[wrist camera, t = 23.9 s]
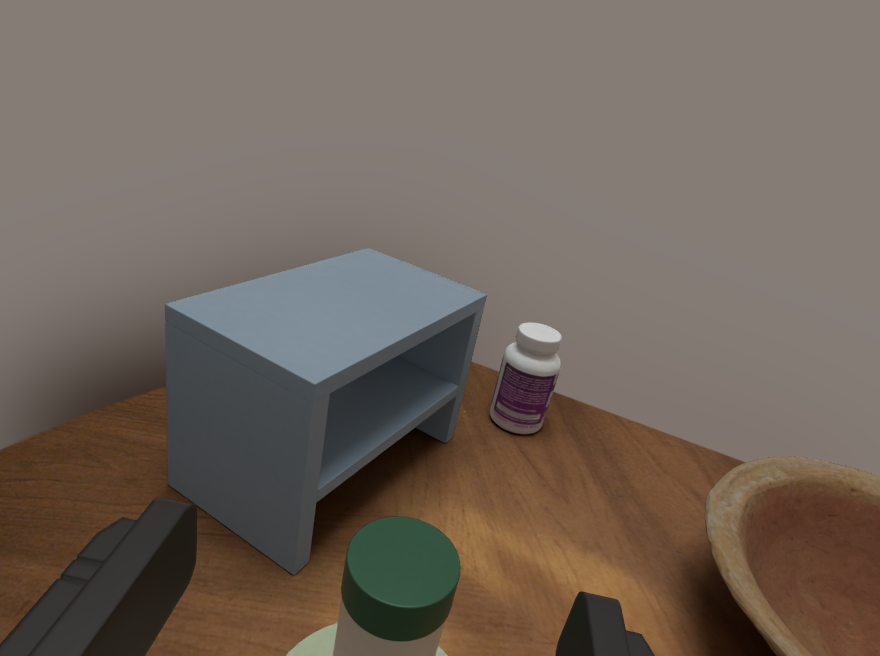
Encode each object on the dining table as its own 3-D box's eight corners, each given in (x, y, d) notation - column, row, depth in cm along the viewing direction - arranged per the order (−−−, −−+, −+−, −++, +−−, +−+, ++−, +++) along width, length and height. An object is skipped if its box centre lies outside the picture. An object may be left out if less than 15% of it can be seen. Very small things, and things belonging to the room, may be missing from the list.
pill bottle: (551, 436, 56) (580, 347, 52) (499, 437, 54) (525, 344, 50) (529, 404, 60) (554, 319, 56) (481, 403, 58) (503, 316, 54)
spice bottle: (299, 727, 28) (322, 562, 23) (361, 654, 32) (391, 500, 27) (379, 796, 26) (420, 631, 22) (435, 709, 30) (480, 553, 25)
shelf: (167, 484, 41) (164, 303, 35) (349, 383, 57) (368, 247, 52) (293, 576, 36) (314, 384, 30) (453, 437, 53) (487, 294, 47)
